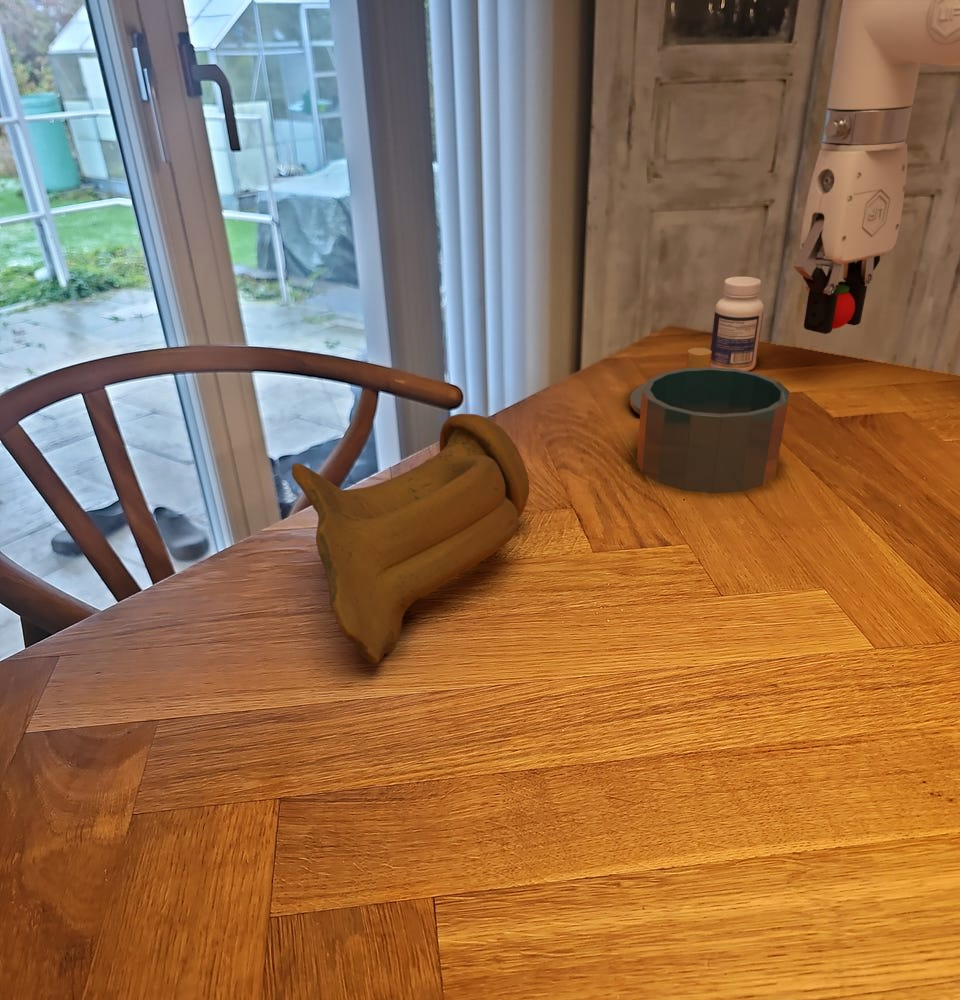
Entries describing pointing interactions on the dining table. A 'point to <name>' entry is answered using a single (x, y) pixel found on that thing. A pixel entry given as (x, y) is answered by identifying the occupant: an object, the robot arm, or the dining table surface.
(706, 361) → the lid
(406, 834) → the dining table surface
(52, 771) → the dining table surface
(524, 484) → the brown fluted pedestal
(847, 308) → the toy tomato
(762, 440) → the pot
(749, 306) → the pill bottle
